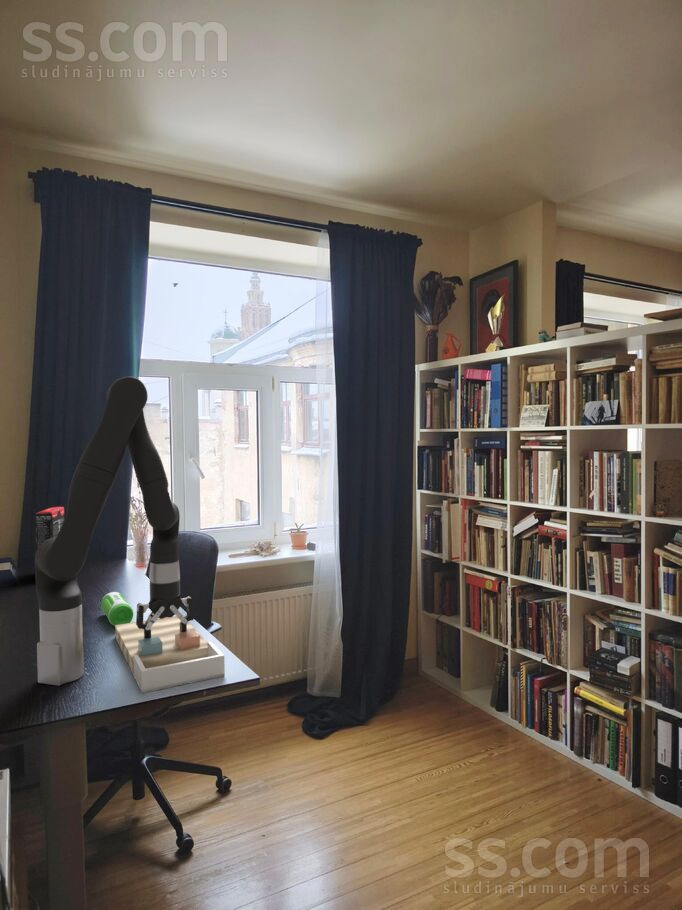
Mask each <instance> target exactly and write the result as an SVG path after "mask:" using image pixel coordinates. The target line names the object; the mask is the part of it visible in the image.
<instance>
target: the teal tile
mask: <svg viewBox="0 0 682 910" xmlns="http://www.w3.org/2000/svg"><path fill="white" fill-rule="evenodd" d="M138 650H139V652H140V654H141V656H146V655H152V654H157V653H163V649H162V641H161V640H160V638H159V637H152V638H146V639H140V640H138Z"/></svg>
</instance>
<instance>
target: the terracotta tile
mask: <svg viewBox="0 0 682 910" xmlns="http://www.w3.org/2000/svg"><path fill="white" fill-rule="evenodd" d="M200 635H201V634H200ZM200 635H198V634H197V633H196V632H195V631H194V630H192V631H187V632H181V633H176V634H175V643H176V645H177V646H178V647H179V648H180V649H184V648H189V647H194V646H199V645H200Z"/></svg>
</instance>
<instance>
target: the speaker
mask: <svg viewBox="0 0 682 910" xmlns="http://www.w3.org/2000/svg"><path fill="white" fill-rule="evenodd" d="M100 605H101V607H100V608H101V610H102V612H103V613H104V614H105V616H106V617H107V619H108V621H109V623H110V624H111V625H112V626H114V627H115V625H120V624H126V623H132V621H133V618H134V609H133V606H132V605H130V603H128V601H127V600H126V598H125V596H124V595H123V594H122V593H120V592H118V591H111V592H108V593H107V594H105V595H104V596H103V598H102V599H101V604H100Z"/></svg>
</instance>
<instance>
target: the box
mask: <svg viewBox="0 0 682 910" xmlns="http://www.w3.org/2000/svg"><path fill="white" fill-rule="evenodd" d="M206 642H207V654H208V657H205V658H200V659H195V660H189V661H184V662H179V663H174V664H169V665H163V666H158V667H153V668H148V669H145V667H144V665H143V663H142V661H141V660H140V658H139V656H138V654H137V655H133V662H134V675H133V677H134V679H135V680H136V682H137V683H136V684H137V685H138V687H139V690H140V691H141V694H146V693H151V692H155V691H159V690H165V689H169V688H168V687H170V688H174V687H173V686H175V687H178V686H177V685H179V686H182V685H181V684H184V685H186V684H185V683H189V684H191V683H190V682H194V683H197V682H203V681H208V680H212V679H217V678H222V677H225V676H226V675H225V672H226V671H225V670H226V669H225V654H223V652H222V651H221V650H220V649H219V648H218V647H217V645H215V644H214V642H212V641H211V640H209V641H206Z"/></svg>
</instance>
